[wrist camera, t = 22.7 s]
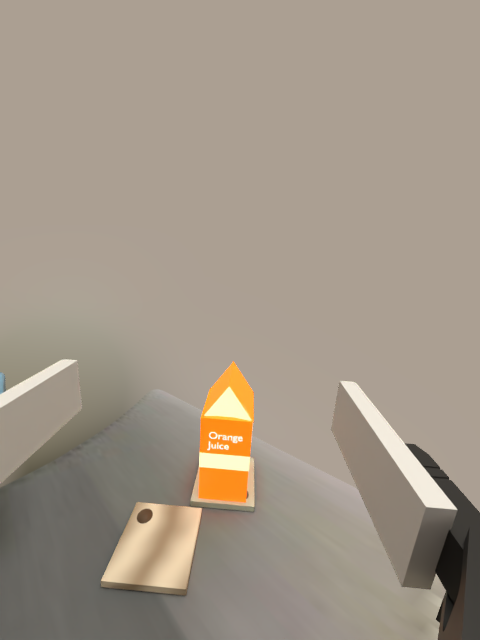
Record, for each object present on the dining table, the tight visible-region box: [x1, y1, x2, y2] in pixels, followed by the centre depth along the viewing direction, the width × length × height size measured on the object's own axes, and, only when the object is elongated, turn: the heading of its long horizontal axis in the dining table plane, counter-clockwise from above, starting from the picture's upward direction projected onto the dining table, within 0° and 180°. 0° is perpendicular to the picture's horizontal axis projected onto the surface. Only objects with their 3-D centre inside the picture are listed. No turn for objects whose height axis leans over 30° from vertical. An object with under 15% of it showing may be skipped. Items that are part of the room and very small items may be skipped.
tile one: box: [101, 502, 202, 595], centre depth 36 cm, size 10×10×1 cm
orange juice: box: [199, 362, 254, 502], centre depth 43 cm, size 8×9×20 cm
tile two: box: [190, 458, 254, 512], centre depth 46 cm, size 10×10×1 cm
